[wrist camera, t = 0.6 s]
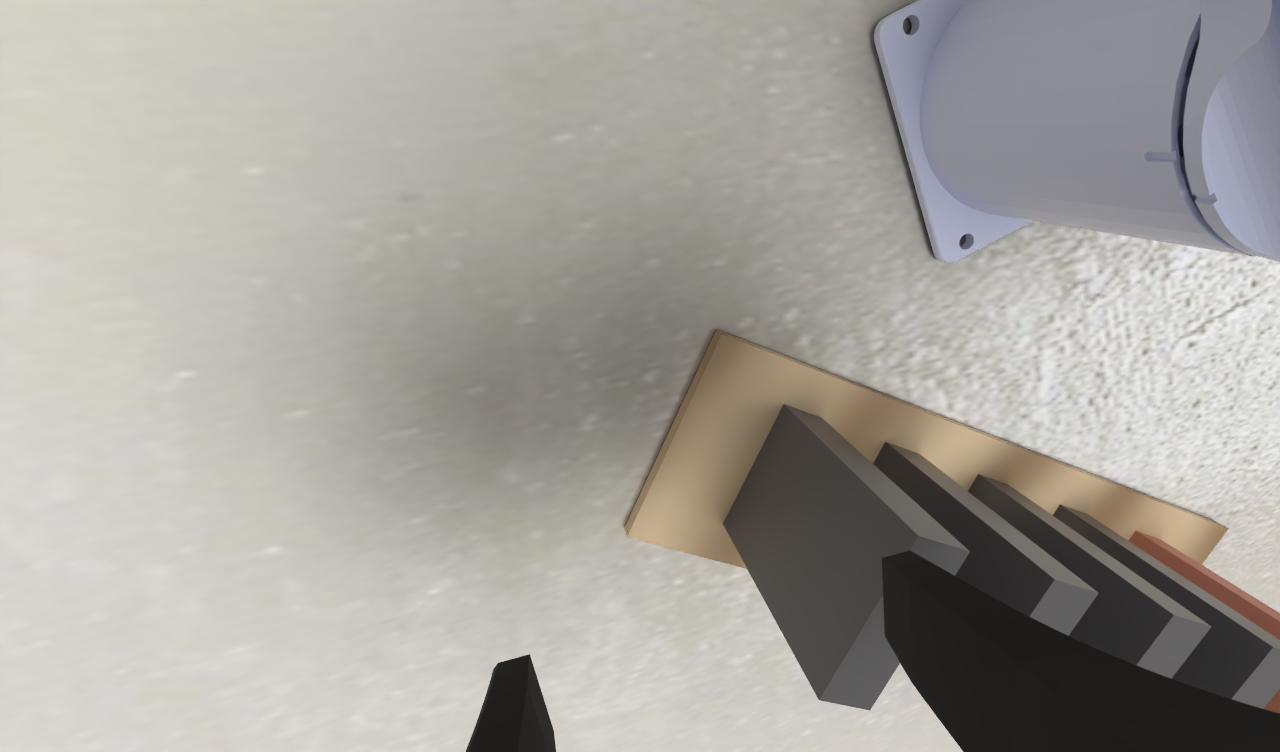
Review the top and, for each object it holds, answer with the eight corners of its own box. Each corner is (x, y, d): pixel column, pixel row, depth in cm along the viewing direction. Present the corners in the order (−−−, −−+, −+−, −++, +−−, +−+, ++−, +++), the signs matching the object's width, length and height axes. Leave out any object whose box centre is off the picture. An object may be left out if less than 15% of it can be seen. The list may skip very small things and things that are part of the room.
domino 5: (1160, 539, 28) (1390, 682, 21) (1095, 630, 29) (1291, 795, 22) (1135, 530, 28) (1362, 673, 20) (1070, 622, 29) (1262, 789, 22)
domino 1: (821, 417, 23) (970, 551, 15) (759, 534, 24) (869, 710, 17) (783, 404, 22) (918, 535, 15) (722, 524, 24) (819, 699, 16)
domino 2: (919, 453, 24) (1098, 593, 17) (855, 562, 25) (997, 737, 18) (885, 441, 24) (1054, 579, 16) (822, 553, 25) (953, 728, 18)
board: (1214, 521, 29) (1228, 528, 29) (1113, 658, 31) (1124, 667, 31) (716, 328, 22) (721, 334, 21) (624, 527, 24) (627, 537, 23)
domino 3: (1008, 484, 25) (1211, 626, 18) (944, 587, 27) (1109, 758, 19) (978, 474, 25) (1174, 615, 18) (914, 578, 26) (1072, 751, 19)
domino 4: (1087, 514, 27) (1306, 657, 19) (1022, 610, 28) (1204, 778, 21) (1060, 504, 26) (1273, 647, 19) (995, 602, 28) (1172, 772, 20)
